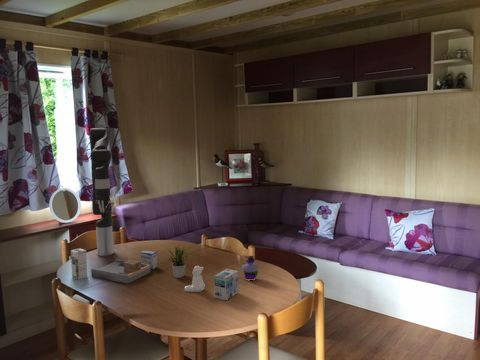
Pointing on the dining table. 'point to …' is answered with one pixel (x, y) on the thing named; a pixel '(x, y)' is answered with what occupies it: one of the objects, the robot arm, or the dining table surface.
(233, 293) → the light bulb box
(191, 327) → the dining table surface
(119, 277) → the grey tray
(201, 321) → the dining table surface
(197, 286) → the white creature statuette
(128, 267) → the walnut block
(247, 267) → the potion bottle
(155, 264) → the medicine box
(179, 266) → the house plant
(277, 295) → the dining table surface
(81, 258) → the syrup box
